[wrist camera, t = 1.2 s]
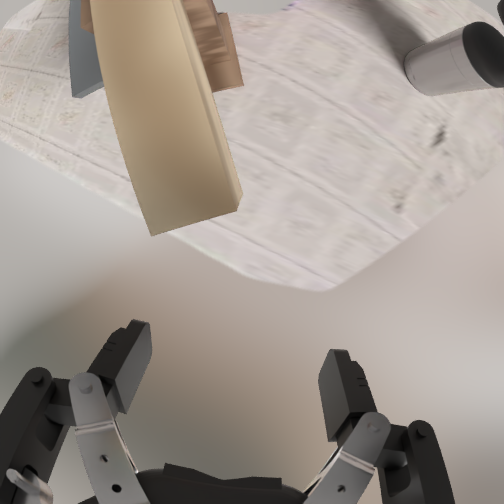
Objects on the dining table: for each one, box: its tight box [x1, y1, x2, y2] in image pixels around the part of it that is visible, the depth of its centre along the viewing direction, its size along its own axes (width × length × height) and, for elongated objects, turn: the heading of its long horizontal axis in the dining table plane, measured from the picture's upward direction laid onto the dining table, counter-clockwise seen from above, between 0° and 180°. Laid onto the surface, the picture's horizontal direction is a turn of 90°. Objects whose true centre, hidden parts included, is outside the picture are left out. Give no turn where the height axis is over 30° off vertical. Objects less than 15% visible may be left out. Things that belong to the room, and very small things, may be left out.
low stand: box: [69, 0, 104, 98], centre depth 24 cm, size 7×16×23 cm, turn 11°
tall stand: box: [81, 0, 244, 93], centre depth 19 cm, size 7×16×32 cm, turn 11°
